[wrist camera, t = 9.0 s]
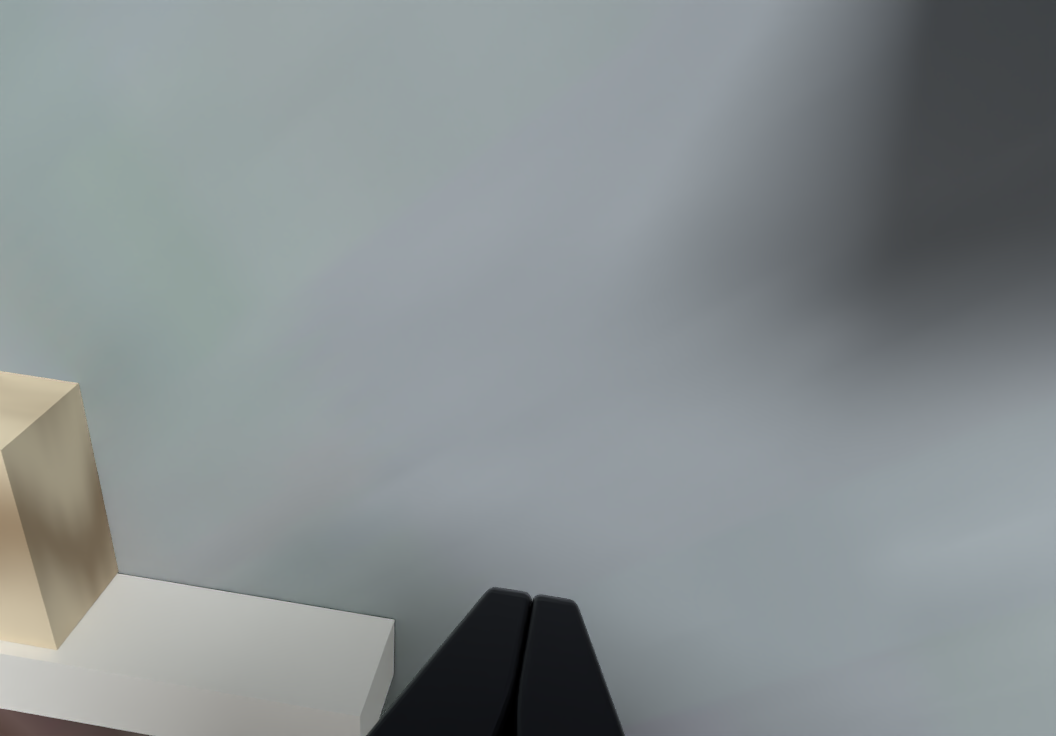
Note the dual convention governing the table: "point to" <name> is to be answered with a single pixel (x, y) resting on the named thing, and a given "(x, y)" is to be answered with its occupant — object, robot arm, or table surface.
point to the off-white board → (206, 665)
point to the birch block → (48, 512)
